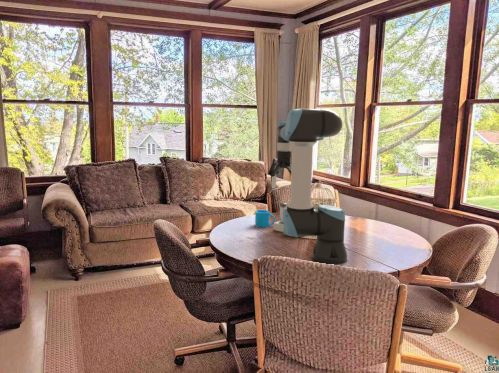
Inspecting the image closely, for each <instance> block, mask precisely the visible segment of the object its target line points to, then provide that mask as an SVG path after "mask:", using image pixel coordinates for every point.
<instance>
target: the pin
mask: <svg viewBox="0 0 499 373" xmlns="http://www.w3.org/2000/svg"><path fill="white" fill-rule="evenodd" d="M287 204H288V203H287V202H279V221H280V224H284V222H283V210H284V209H287Z"/></svg>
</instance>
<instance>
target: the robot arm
mask: <svg viewBox="0 0 499 373" xmlns="http://www.w3.org/2000/svg"><path fill="white" fill-rule="evenodd" d="M286 116H287V117H286V120H285V121H278V122H277V127H276V128H277V141H276V142H277V143H276V144H277V145H276V146H277V147H276V148H277V152H276V153H277V156H276V158H272V163H271V165H270V168H269V170H268V172H267V175H268V176H270V182H271V189H276V188H277V186H276V184H277V176H276V174H277V173H279V171H280V169H282V168H283V169H287V171H288V172H289V174H290V176H291V177H290V178H291V179H290V201H289V202H288V203H287V206H286V209H284V210H283V222H284V227H285V231H286V233H287V235H286V236H289V237H293V236H297V237H296V238H299V237H298V236H300V237H316V242H315V244H314V247H313V250H312V254H311V256H312V260H315V261H316V262H319V263H323V264H327V265H328V264H330V265H331V264H333V265H334V264H335V265H337V264H338V265H339V264H342V263H346V262H347V261H348V253H347V249H346V246H345V243H344V241H345V226H346V225H345V222H346V213H345V211H344V209H342V208H341V207H338V206H333V205H330V204H329V205H328V204H318V206H317V208H315V205H314V204H313V202H311V200H312V199H311V198H312V174H313V171H312V170H313V151H314V150H313V149H314V148H313V147H314V146H315V144H317V142H319V141H323V140H324V139H325V138H329V137H334V136H336V135H338V134H340V132H341V130H342V129H343V121H342V118H341V117H340V115H339V114H338V113H337V112H336V111H333V110H331V109H327V108H293V109H291V110H289V112H288V113H287V115H286Z"/></svg>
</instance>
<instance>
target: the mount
mask: <svg viewBox="0 0 499 373" xmlns="http://www.w3.org/2000/svg"><path fill="white" fill-rule="evenodd" d="M273 230H274V231H277V232H281V233H283V230H284V224H280V220H279V221H275V223H274V224H273Z"/></svg>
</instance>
